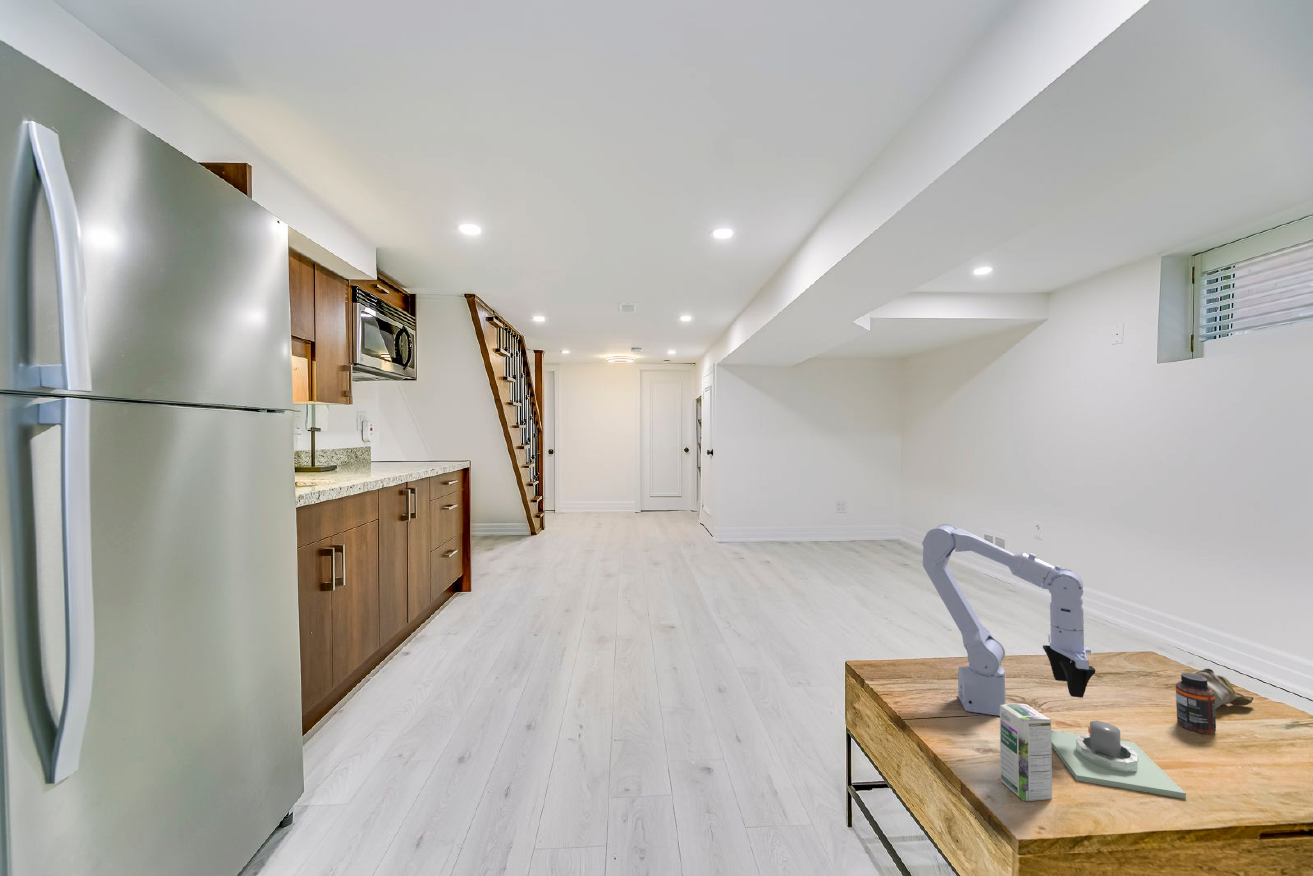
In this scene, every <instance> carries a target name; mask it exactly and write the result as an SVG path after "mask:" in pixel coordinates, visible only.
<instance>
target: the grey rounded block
mask: <svg viewBox="0 0 1313 876" xmlns="http://www.w3.org/2000/svg"><path fill="white" fill-rule="evenodd" d="M1087 728H1088V734H1090V749H1091V750H1093V751H1095V752H1096V753H1099V754H1102V755H1105V756H1108V757H1111V758H1117V759H1121V743H1120V740H1121V730H1120V729H1119V728H1118V727H1116V726H1115V725H1113V724H1111V723H1109V722H1105V721H1099V720H1093V721H1092V720H1091V721H1090V722H1089V726H1088V727H1087Z"/></svg>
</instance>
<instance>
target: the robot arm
mask: <svg viewBox="0 0 1313 876" xmlns="http://www.w3.org/2000/svg"><path fill="white" fill-rule="evenodd" d="M921 545H922V548H923V549H922V567H923V569H924V570H925V572H926V574H927V576H928V577H929V580H931V583H932V584H933V586H934V588H935V590H936V591H937V593H938V595H939V596H940V598H941V600H942V602H943V603H944V605H945V608H946V610H947V611H948V613H949V614H950V616H951V619H953V621H954V623H955V625H956V626H957V628H958V630H959V633H961V637H962V642H963V647H964V649H965V650H966V653H967V661H968V663H969V664H968V665H966V666H959V667H958V670H957V686H958V688H957V689H958V693H957V697H958V699H959V700H960V702H961V705H962V707H963V709H964V710H965V711H966V712H969V713H976V714H984V715H992V716H997V717H998V716H999V717H1000V705H1004V704H1006V671H1005V669H1004V668H1003V667H1002V666H1003V665H1002V664H1001V663H1002V661H1003V660H1004V658H1005V657H1006V651H1005V648H1004V646H1003V645H1002V643H1001V642H1000V641H999V640H997V639H996V638H995V637H994V636H993V635H992V633H991V632H990V630H988V629H987V628H986V627H985V626H983V624H982V623H981V621H980V619H979V617H978V616H977V614H976V612H975V610H974V609H973V607H972V606H971V604H970V602H969V600H968V599H967V597H966V595H965V593H964V591H963V589H961V587H960V585H959V584H958V581H957V580H956V578H955V576H954V575H953V573H952V571H951V569H950V568H949V566H948V563H949V560H950V558H951V555H952V553H953V552H954V551H955V552H956V553H958V552H959V553H960V552H974V553H976V554H977V555H981V556H983V557H985V558H987V559H990V560H992V561H994V562H997V563H999V564H1002V565H1003V566H1005V567H1008V569H1009V571H1010V572H1011V574H1012V575H1013V576H1016V577H1018V578H1019V579H1022V580H1024V581H1026V582H1028V583H1030V584H1032V585H1034V586H1036V587H1038V588H1041V589H1043V590H1048V592H1049V594H1050V597H1051V598H1050V603H1049V612H1050V613H1049V619H1050V624H1049V625H1050V633H1048V635H1047V636H1048V637H1047V638H1048V643H1049V645H1042V649H1043V650H1044V652H1045V654H1046V656H1047V658H1048V660H1049V661H1048V662H1049V664H1050V667H1051V671H1052V674H1053V678H1054V680H1055V681H1059V682H1066V685H1067V689H1068V693H1069V696H1071V697H1074V698H1079V699H1082V698H1084V696H1085V692H1086V690H1087V686H1088V683H1089V682H1090V679H1091V678H1092V677H1093V676H1094V674H1096V668H1094V667H1093V666H1092V665H1090V661H1089V659H1088V658H1087V654H1091V653H1092V650H1091V648H1089V647H1088V646H1085V634H1084V631H1085V630H1084V629H1085V625H1084V620H1085V619H1084V607H1083V604H1084V603H1083V599H1082V597H1083V594H1084V583H1083V580H1082V578H1081V576H1080V575H1078V574H1077V573H1076V572H1074V571H1073V570H1071V569H1069V568H1062V566H1060V565H1058V564H1056V565H1052V564H1050V563H1048V562H1046V561H1044V560H1041V559H1039V558H1037V554H1035V553H1032V552H1030V553H1029V554H1028V553H1026V552H1020V553H1014V552H1010V551H1008V550H1007V549H1005V548H1004V547H1003V548H1002V547H1001V546H998V545H996V544H995V543H993V542H991V541H988V540H986V539H985V538H982V537H980V536H978V535H976V534H974V533H971V532H970V531H968V530H965V529H964V528H961V527H960V528H959V527H958V528H957V527H956V526H954V525H952V524H949V523H943V524H940V525H937V526H936V527H935V528H932V529H929V530H928V531H927V533H926V534H925V537H924V539H923V540H922V542H921Z"/></svg>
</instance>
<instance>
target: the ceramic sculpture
mask: <svg viewBox="0 0 1313 876" xmlns="http://www.w3.org/2000/svg"><path fill="white" fill-rule="evenodd" d="M1195 674H1197V675H1200V676H1203V677H1205V678H1206V679H1207V684H1208V685H1207V687H1208V688H1210V689H1211V690H1212V691H1213V692H1214V696H1215V710H1217V709H1218V708H1219V707H1221V705H1229V704H1230V705H1233V706H1239V707H1240V706H1247V705H1250V704H1251V703H1253V701H1254V697H1253V696H1247V695H1243V694H1241V693H1239V692H1236V691H1235V690H1234V689H1235V688H1234V687H1233V685H1232V683H1231V682H1230V681H1229V679H1228V678H1227V677H1224V675H1221V674H1219V673H1215V672H1214V670H1213V669H1210V668H1204V669H1200V670H1197V671H1196V673H1195Z"/></svg>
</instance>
